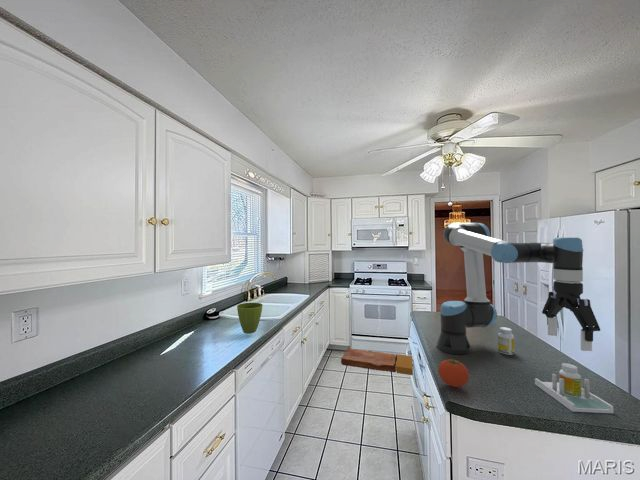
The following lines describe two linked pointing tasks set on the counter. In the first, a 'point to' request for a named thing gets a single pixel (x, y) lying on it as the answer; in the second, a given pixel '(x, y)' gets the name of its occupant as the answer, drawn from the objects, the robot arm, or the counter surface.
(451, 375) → the tomato
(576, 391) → the supplement bottle
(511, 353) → the pill bottle
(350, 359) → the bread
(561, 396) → the tray
